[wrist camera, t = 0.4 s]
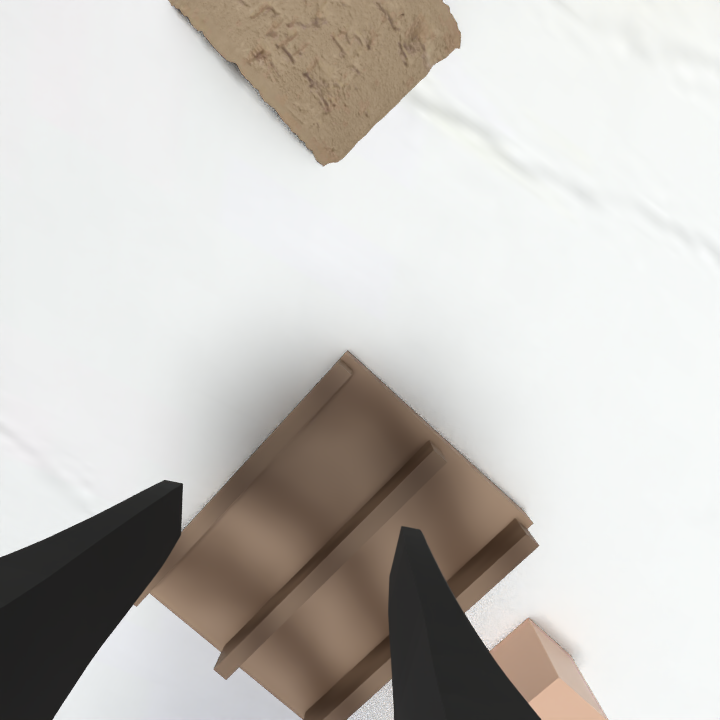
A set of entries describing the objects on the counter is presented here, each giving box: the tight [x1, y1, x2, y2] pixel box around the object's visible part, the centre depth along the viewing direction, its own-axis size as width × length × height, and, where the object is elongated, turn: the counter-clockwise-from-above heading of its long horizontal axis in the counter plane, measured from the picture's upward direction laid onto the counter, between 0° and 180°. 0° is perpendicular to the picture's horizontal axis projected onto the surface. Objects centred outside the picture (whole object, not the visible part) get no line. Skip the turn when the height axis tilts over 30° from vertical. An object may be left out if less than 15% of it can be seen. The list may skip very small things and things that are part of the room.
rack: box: [134, 351, 539, 720], centre depth 21 cm, size 20×15×3 cm
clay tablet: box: [168, 0, 461, 166], centre depth 18 cm, size 14×10×3 cm
